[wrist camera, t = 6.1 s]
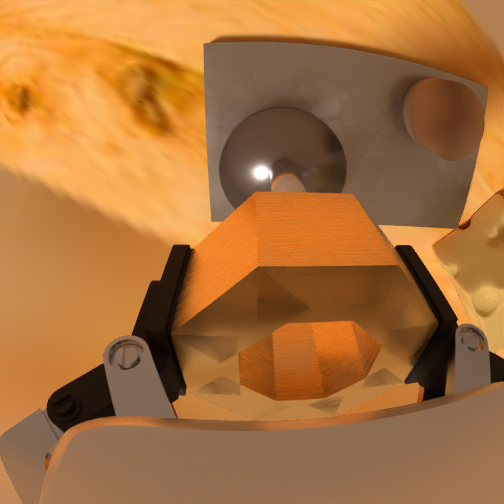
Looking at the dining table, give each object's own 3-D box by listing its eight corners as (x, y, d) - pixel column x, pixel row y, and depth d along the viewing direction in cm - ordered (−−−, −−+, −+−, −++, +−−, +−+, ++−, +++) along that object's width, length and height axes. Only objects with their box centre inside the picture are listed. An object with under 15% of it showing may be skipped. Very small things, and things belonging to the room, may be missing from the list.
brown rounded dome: (458, 85, 18) (488, 93, 14) (449, 149, 21) (476, 166, 18) (399, 69, 18) (426, 71, 14) (392, 139, 21) (415, 155, 18)
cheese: (428, 246, 27) (474, 315, 19) (499, 185, 23) (560, 237, 14) (455, 296, 31) (490, 358, 23) (516, 246, 27) (559, 298, 18)
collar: (410, 197, 9) (468, 263, 6) (364, 342, 13) (383, 408, 10) (185, 192, 9) (152, 265, 6) (206, 346, 13) (198, 418, 10)
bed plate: (479, 85, 17) (487, 87, 16) (451, 222, 25) (457, 228, 24) (206, 44, 18) (203, 43, 17) (213, 214, 26) (211, 221, 25)
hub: (342, 108, 20) (376, 127, 14) (331, 213, 25) (352, 264, 19) (221, 104, 20) (205, 120, 14) (225, 211, 25) (214, 263, 20)
